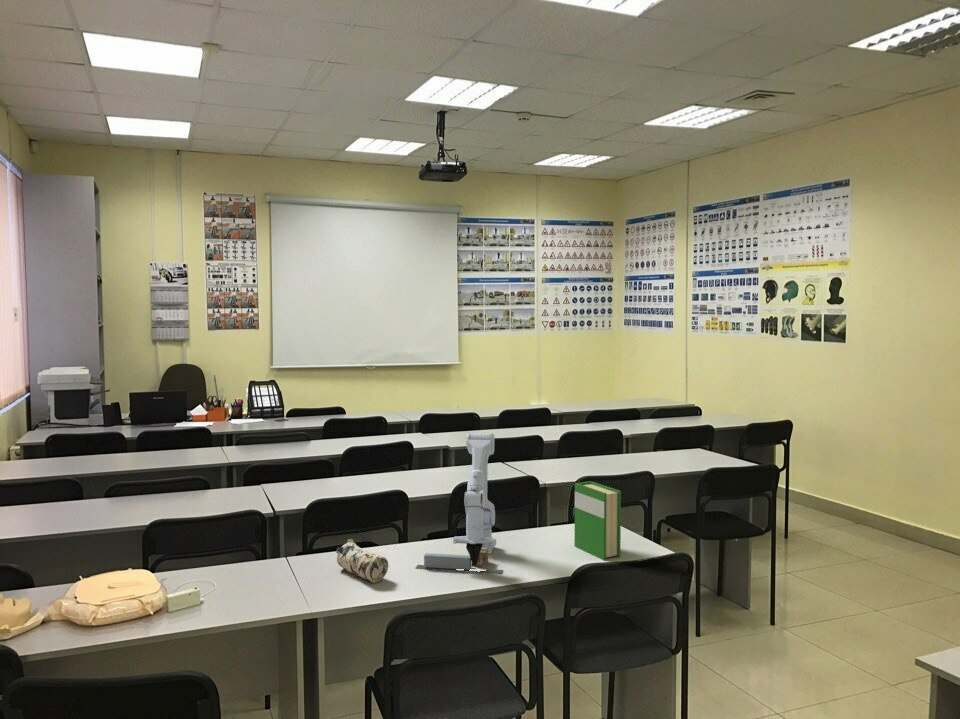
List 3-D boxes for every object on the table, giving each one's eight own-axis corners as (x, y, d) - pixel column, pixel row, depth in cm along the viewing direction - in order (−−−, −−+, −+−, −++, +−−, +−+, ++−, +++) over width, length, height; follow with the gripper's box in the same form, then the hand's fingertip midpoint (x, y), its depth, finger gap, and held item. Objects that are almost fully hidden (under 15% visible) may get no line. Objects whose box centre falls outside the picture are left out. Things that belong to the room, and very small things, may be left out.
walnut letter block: (474, 561, 255) (474, 546, 254) (488, 561, 254) (488, 547, 254) (471, 566, 250) (471, 551, 249) (485, 567, 249) (485, 552, 248)
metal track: (417, 565, 250) (417, 564, 250) (503, 570, 245) (503, 569, 245) (415, 568, 247) (415, 567, 247) (501, 573, 242) (501, 573, 242)
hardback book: (620, 557, 258) (620, 491, 257) (603, 560, 255) (604, 493, 253) (590, 543, 274) (590, 481, 273) (574, 546, 270) (574, 483, 269)
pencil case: (334, 569, 247) (334, 541, 246) (356, 564, 252) (355, 536, 252) (369, 587, 230) (369, 557, 230) (391, 581, 236) (391, 551, 235)
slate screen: (425, 564, 249) (425, 553, 249) (471, 567, 246) (471, 555, 246) (424, 566, 247) (424, 555, 247) (470, 569, 244) (469, 558, 244)
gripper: (451, 527, 241) (451, 567, 242) (493, 530, 239) (494, 570, 240) (455, 522, 248) (455, 560, 249) (497, 524, 246) (497, 563, 247)
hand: (474, 564), depth 245 cm, fingers closed
